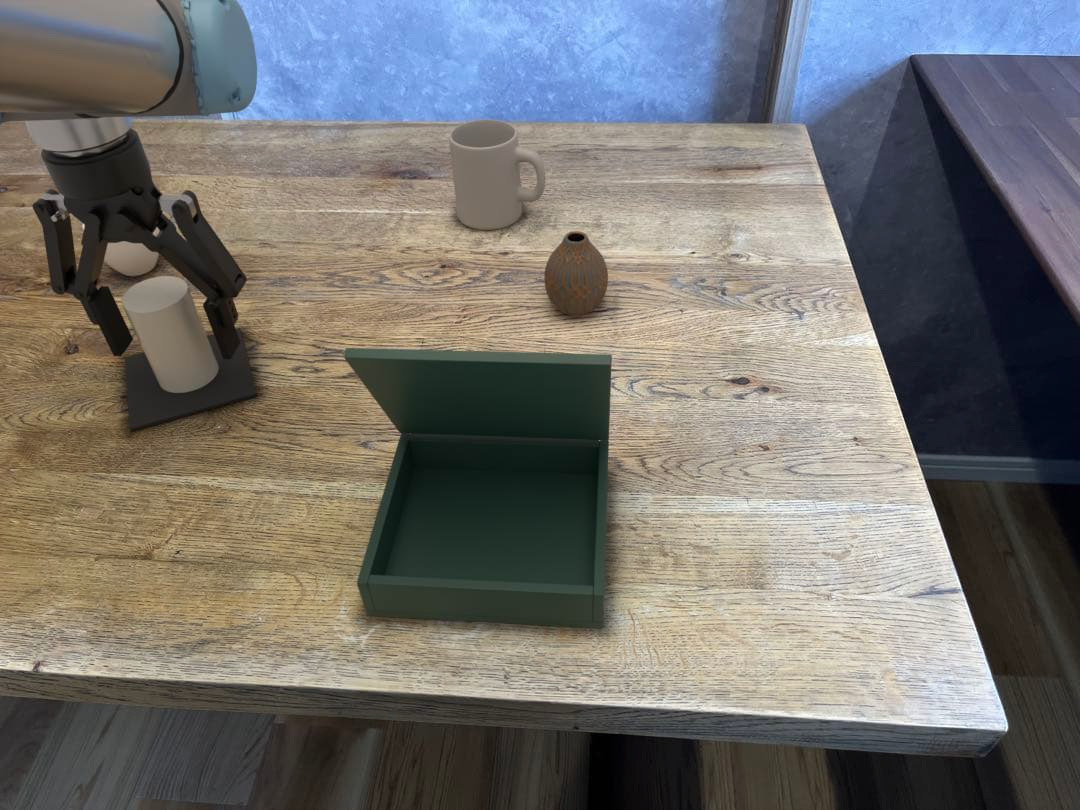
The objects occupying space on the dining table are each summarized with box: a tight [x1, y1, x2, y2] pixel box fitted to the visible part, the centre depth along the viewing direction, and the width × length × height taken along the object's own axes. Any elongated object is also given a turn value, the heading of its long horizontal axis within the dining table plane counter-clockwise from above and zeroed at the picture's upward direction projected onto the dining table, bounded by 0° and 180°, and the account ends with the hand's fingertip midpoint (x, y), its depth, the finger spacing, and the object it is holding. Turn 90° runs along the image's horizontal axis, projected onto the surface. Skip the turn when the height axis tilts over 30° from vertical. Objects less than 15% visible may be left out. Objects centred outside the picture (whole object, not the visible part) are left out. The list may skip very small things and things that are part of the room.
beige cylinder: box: [121, 275, 219, 393], centre depth 81 cm, size 6×6×10 cm
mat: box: [124, 327, 258, 432], centre depth 84 cm, size 12×12×1 cm
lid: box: [343, 347, 613, 441], centre depth 62 cm, size 16×18×1 cm
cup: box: [81, 223, 160, 277], centre depth 99 cm, size 8×10×7 cm
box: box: [356, 433, 610, 629], centre depth 66 cm, size 16×18×4 cm
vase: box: [543, 230, 609, 317], centre depth 88 cm, size 7×7×9 cm
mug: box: [448, 119, 546, 231], centre depth 103 cm, size 12×8×11 cm
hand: (177, 349), depth 82 cm, fingers open, 11 cm apart
